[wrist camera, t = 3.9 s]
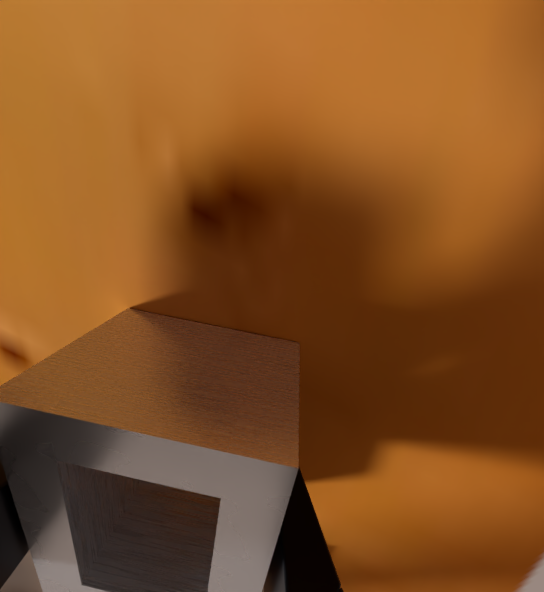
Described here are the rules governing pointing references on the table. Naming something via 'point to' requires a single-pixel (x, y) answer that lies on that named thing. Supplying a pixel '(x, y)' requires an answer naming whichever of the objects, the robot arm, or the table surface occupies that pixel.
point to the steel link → (154, 456)
